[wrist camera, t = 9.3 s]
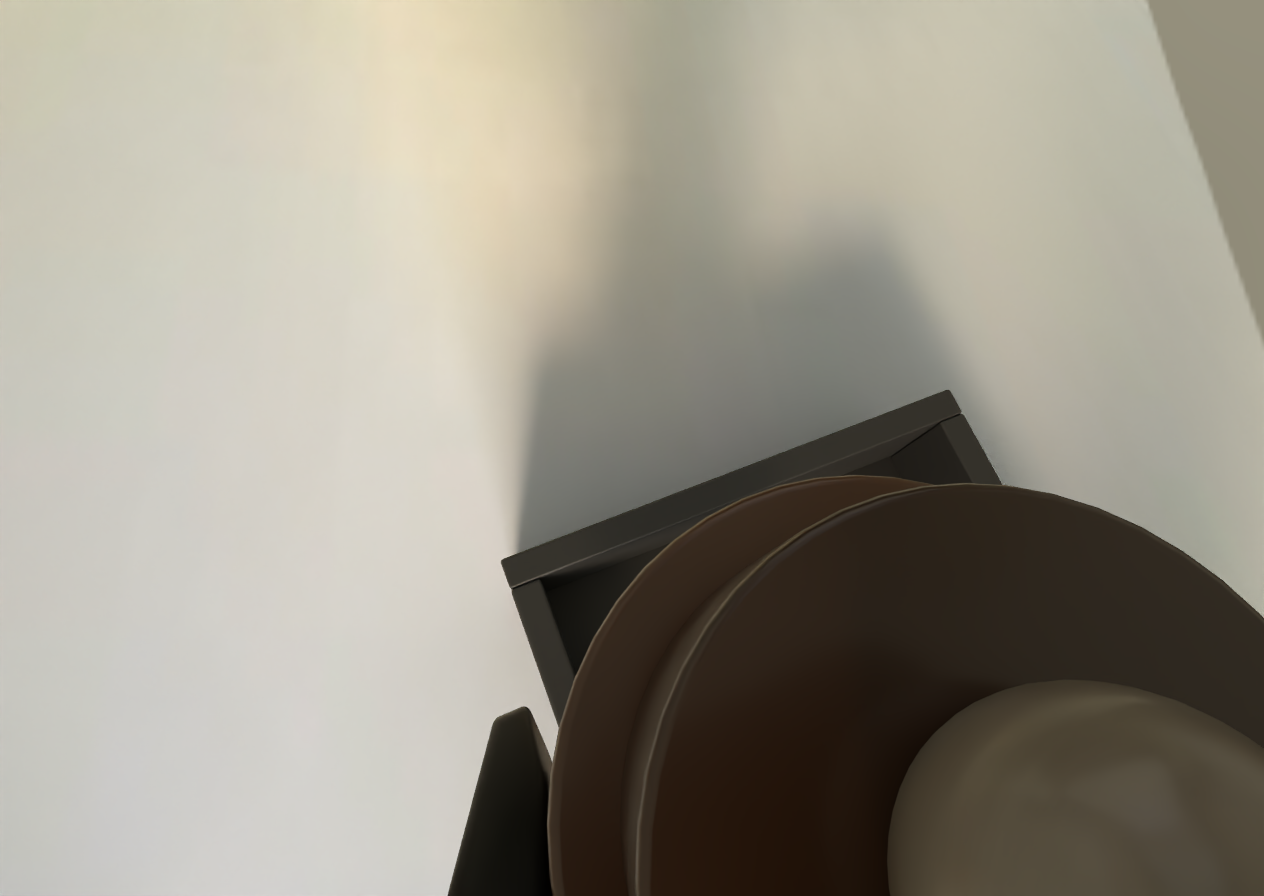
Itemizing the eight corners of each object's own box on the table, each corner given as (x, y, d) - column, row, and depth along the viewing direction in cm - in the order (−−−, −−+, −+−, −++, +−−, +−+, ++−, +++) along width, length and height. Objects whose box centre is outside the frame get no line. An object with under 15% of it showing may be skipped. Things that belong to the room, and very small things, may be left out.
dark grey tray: (1144, 913, 21) (1273, 968, 17) (716, 1154, 18) (753, 1282, 14) (892, 432, 24) (950, 388, 21) (513, 578, 22) (499, 559, 18)
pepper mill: (803, 868, 14) (2682, 2494, 2) (554, 843, 14) (300, 2409, 1) (809, 614, 16) (1765, 354, 3) (586, 589, 16) (602, 204, 3)
